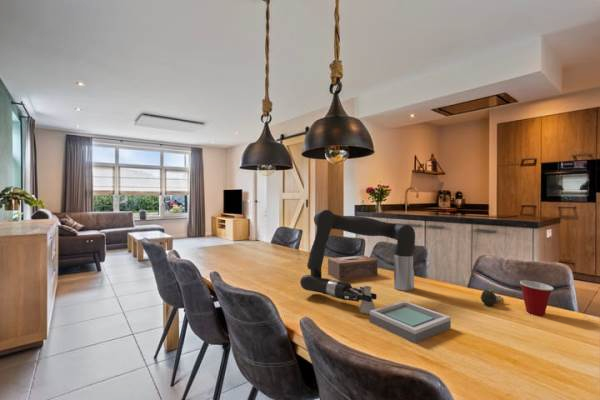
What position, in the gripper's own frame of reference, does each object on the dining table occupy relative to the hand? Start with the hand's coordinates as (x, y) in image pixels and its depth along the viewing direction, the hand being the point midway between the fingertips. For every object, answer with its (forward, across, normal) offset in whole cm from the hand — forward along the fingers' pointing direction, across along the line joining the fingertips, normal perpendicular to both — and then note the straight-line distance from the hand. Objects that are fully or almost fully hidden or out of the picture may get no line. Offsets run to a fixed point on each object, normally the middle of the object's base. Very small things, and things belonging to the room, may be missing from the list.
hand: (373, 298), depth 122 cm
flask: (-3, 0, +6) cm, 7 cm away
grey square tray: (+15, -2, +6) cm, 17 cm away
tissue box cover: (-38, +45, +6) cm, 59 cm away
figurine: (+33, +46, +6) cm, 57 cm away
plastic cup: (+49, +43, +6) cm, 66 cm away
